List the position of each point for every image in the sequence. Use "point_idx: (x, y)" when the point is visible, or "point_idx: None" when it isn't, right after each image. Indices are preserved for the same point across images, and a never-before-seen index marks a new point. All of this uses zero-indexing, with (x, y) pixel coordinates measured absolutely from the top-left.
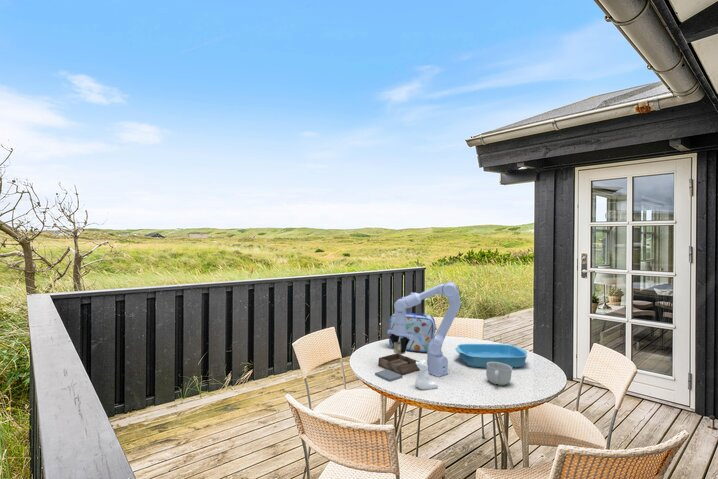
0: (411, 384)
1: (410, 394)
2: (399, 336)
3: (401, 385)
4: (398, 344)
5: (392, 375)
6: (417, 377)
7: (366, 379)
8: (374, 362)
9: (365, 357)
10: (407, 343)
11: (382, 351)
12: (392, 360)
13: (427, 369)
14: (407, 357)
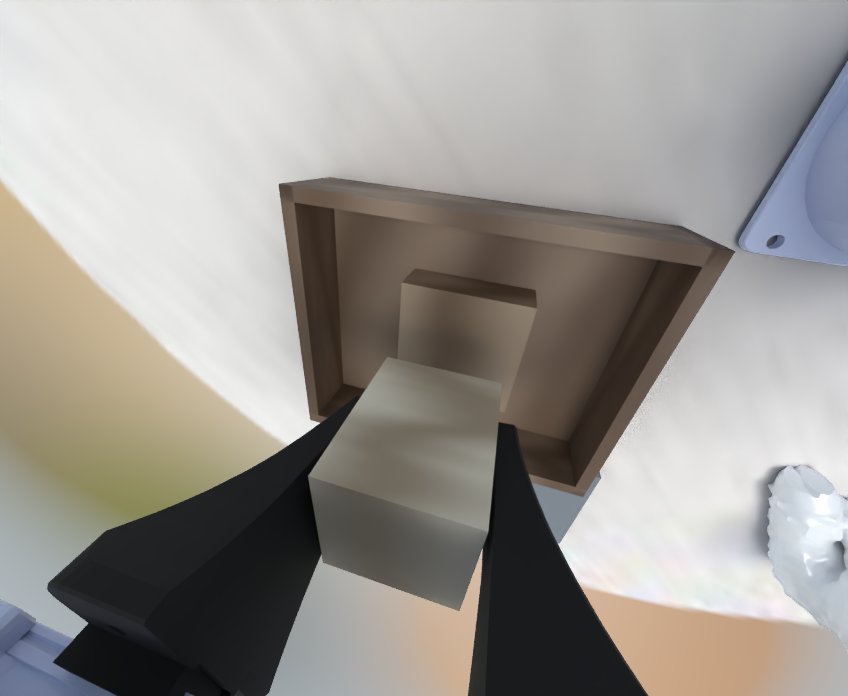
0: (710, 520)
1: (751, 608)
2: (198, 570)
3: (648, 546)
4: (426, 590)
5: (538, 499)
6: (823, 621)
7: None
8: (274, 343)
9: (168, 303)
10: (566, 580)
11: (29, 27)
12: (333, 261)
13: (839, 242)
14: (472, 226)
